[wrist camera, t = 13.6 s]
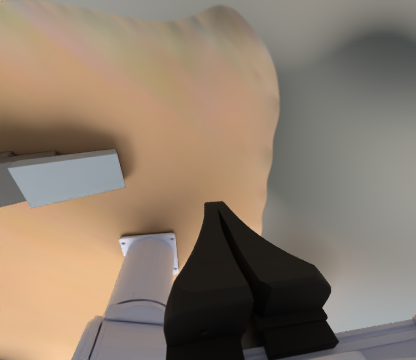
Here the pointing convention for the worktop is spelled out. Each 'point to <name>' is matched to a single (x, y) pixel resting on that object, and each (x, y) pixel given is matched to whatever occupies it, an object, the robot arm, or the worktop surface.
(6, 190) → the domino
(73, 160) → the domino
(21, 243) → the worktop surface
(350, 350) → the robot arm
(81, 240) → the worktop surface
